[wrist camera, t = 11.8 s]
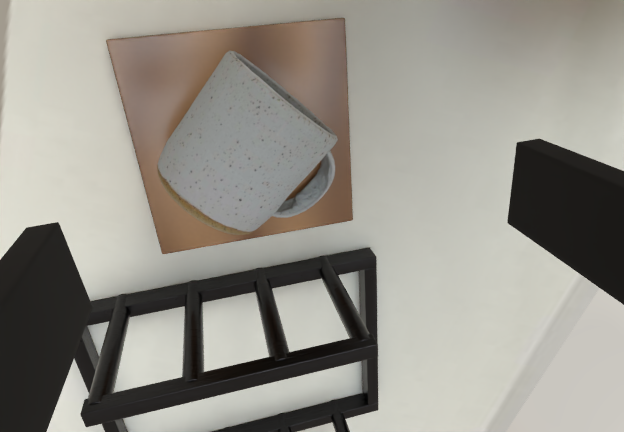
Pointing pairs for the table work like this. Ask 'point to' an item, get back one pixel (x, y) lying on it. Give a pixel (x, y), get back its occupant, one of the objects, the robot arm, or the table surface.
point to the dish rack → (245, 375)
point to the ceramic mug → (245, 151)
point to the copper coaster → (189, 82)
